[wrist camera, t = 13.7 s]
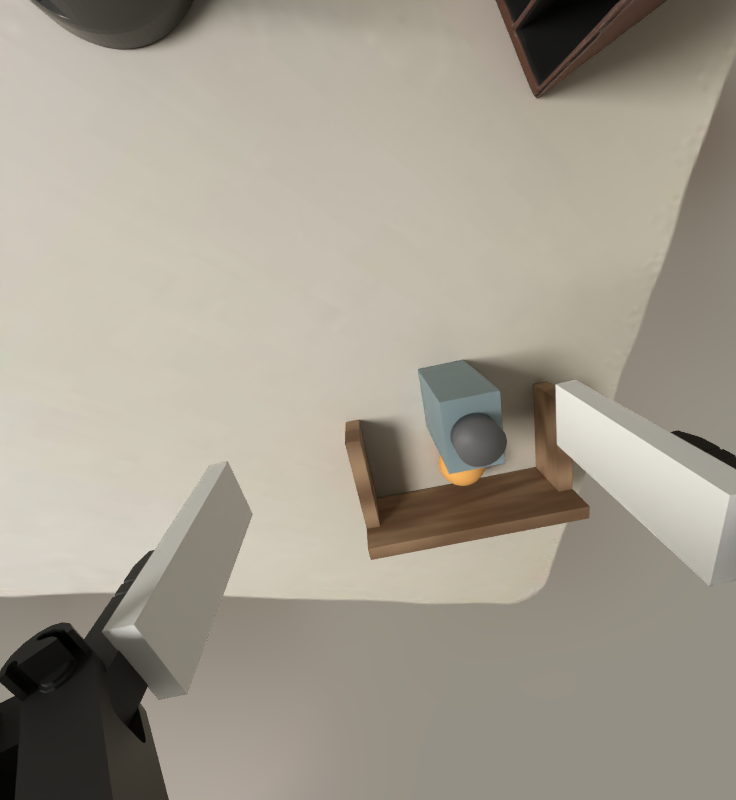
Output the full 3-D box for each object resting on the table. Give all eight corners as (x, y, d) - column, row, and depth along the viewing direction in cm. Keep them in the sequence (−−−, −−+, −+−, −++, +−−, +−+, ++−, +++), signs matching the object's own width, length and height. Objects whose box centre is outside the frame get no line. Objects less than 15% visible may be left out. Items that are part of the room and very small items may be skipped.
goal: (345, 422, 40) (344, 458, 32) (546, 381, 39) (593, 408, 32) (367, 510, 44) (370, 559, 37) (548, 474, 44) (589, 518, 36)
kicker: (417, 369, 38) (445, 412, 27) (463, 359, 38) (510, 399, 27) (426, 426, 40) (455, 487, 29) (469, 417, 40) (514, 475, 29)
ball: (430, 452, 43) (437, 439, 38) (470, 444, 43) (481, 430, 38) (442, 493, 40) (451, 485, 36) (484, 484, 41) (497, 475, 36)
